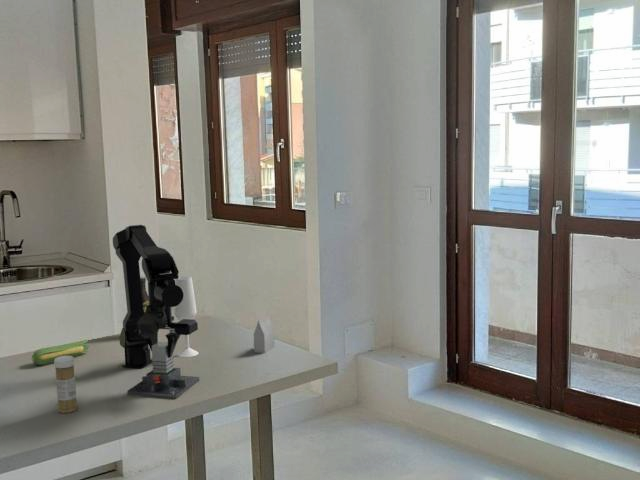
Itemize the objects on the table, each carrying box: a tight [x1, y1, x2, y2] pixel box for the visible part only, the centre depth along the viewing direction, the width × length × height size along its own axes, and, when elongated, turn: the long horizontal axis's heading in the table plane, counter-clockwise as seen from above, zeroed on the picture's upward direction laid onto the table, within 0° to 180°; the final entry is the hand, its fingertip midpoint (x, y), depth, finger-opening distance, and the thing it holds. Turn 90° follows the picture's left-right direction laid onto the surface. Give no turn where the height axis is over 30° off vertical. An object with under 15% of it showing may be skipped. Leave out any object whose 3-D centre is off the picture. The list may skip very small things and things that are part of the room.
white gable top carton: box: [253, 316, 275, 354], centre depth 223 cm, size 4×7×10 cm, turn 158°
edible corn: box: [31, 339, 90, 366], centre depth 218 cm, size 5×20×5 cm
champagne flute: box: [174, 275, 199, 358], centre depth 219 cm, size 7×7×24 cm
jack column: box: [151, 341, 175, 375], centre depth 190 cm, size 4×4×8 cm
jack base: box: [126, 367, 200, 399], centre depth 191 cm, size 14×14×4 cm
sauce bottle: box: [140, 276, 149, 313], centre depth 242 cm, size 7×6×20 cm
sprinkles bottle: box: [53, 356, 78, 414], centre depth 175 cm, size 5×5×14 cm
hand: (162, 356), depth 190 cm, fingers closed on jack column, 4 cm apart
